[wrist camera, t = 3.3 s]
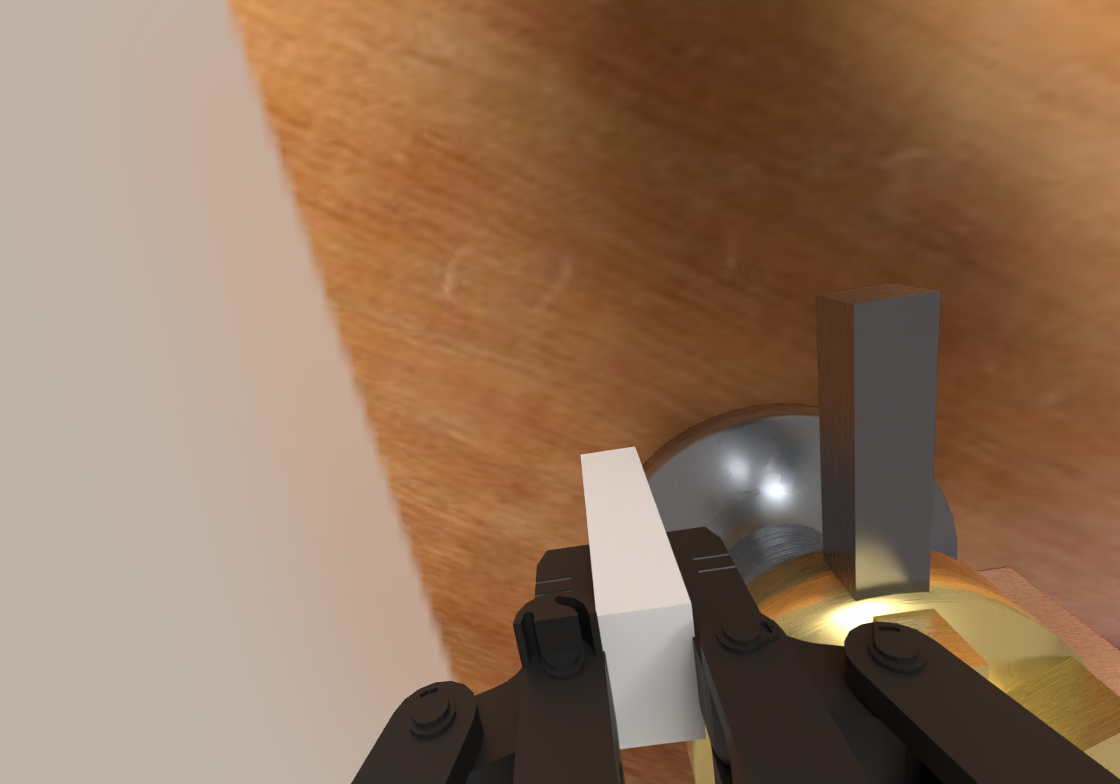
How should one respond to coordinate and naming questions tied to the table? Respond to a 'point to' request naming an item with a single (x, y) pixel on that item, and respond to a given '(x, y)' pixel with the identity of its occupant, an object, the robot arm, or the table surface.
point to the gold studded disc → (909, 528)
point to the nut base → (805, 508)
